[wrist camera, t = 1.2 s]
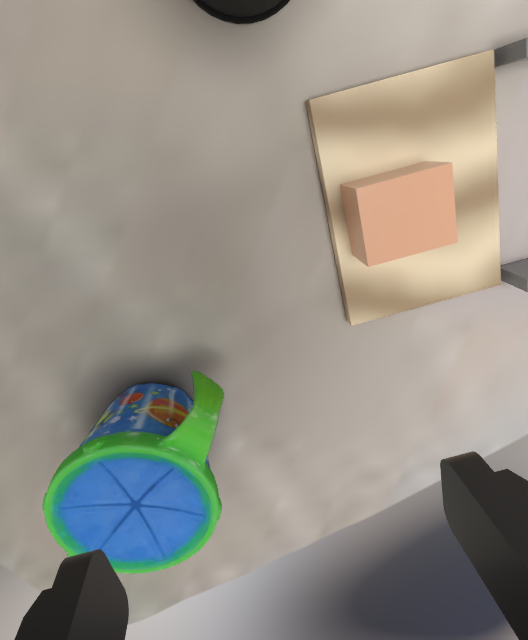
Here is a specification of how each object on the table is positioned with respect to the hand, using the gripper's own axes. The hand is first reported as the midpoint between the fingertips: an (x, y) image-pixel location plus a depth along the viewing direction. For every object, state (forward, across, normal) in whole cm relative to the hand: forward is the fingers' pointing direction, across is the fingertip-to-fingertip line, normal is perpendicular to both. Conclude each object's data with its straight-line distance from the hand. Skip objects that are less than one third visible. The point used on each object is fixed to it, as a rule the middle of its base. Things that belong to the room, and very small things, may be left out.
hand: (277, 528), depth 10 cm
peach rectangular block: (+22, -12, -2) cm, 25 cm away
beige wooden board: (+23, -14, -2) cm, 27 cm away
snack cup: (+23, +10, +11) cm, 28 cm away
